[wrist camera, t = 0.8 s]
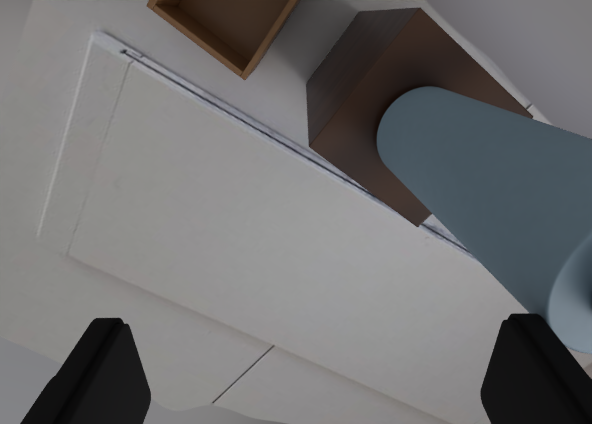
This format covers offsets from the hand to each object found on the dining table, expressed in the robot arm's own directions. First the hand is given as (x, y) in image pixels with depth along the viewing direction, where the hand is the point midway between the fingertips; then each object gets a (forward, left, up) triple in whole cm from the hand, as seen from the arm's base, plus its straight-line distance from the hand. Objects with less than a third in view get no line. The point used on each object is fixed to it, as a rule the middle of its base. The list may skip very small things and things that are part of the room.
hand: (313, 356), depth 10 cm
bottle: (+1, +6, -12) cm, 13 cm away
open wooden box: (-11, 0, -32) cm, 34 cm away
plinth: (+1, +6, -32) cm, 33 cm away
